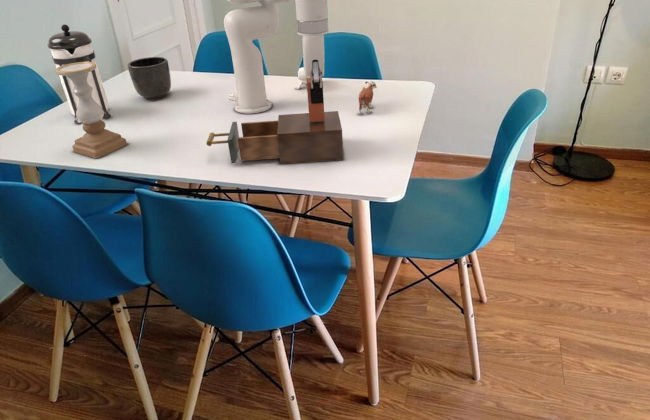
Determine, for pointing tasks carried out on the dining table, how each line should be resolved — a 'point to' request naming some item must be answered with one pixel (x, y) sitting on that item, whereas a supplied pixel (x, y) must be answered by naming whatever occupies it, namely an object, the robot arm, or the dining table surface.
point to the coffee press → (76, 50)
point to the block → (314, 106)
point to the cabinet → (309, 138)
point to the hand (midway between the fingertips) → (317, 99)
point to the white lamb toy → (301, 78)
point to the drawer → (251, 141)
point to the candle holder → (90, 114)
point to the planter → (150, 77)
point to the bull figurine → (366, 96)
